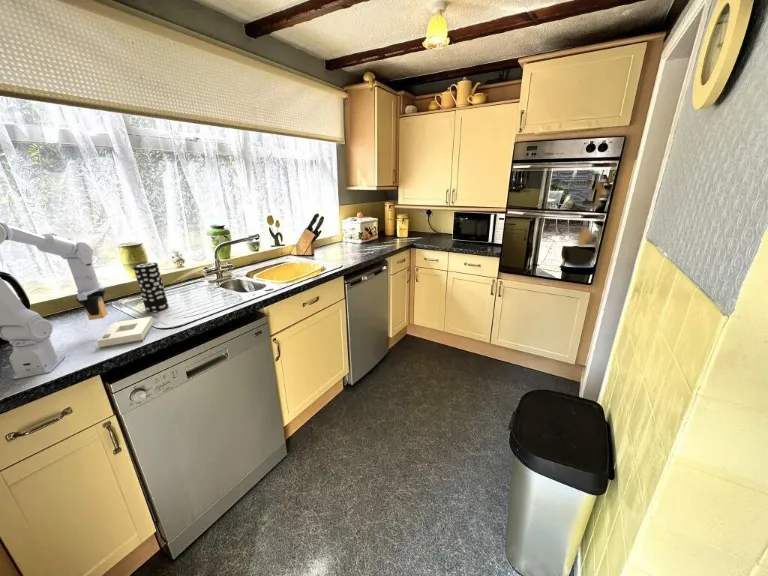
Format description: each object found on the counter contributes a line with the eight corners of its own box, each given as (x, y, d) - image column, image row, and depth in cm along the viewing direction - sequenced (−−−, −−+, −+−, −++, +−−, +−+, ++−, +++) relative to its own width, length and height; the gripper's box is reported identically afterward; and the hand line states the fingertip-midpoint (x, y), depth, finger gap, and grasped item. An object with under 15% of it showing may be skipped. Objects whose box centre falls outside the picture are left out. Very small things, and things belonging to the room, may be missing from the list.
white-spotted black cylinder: (143, 313, 131) (130, 268, 125) (149, 306, 139) (137, 264, 132) (166, 310, 134) (154, 266, 128) (170, 304, 142) (159, 261, 135)
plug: (103, 317, 110) (97, 299, 108) (89, 320, 109) (82, 301, 107) (107, 313, 114) (101, 296, 112) (93, 316, 112) (87, 298, 110)
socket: (143, 341, 108) (140, 332, 107) (100, 348, 103) (96, 339, 102) (153, 323, 122) (151, 315, 121) (115, 329, 117) (113, 321, 116)
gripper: (91, 280, 102) (104, 317, 106) (106, 270, 114) (117, 304, 119) (63, 283, 99) (77, 321, 103) (82, 272, 111) (94, 307, 116)
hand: (97, 312), depth 111 cm, fingers closed on plug, 4 cm apart
